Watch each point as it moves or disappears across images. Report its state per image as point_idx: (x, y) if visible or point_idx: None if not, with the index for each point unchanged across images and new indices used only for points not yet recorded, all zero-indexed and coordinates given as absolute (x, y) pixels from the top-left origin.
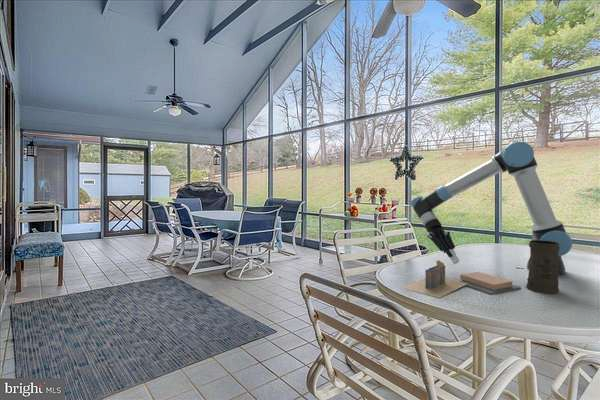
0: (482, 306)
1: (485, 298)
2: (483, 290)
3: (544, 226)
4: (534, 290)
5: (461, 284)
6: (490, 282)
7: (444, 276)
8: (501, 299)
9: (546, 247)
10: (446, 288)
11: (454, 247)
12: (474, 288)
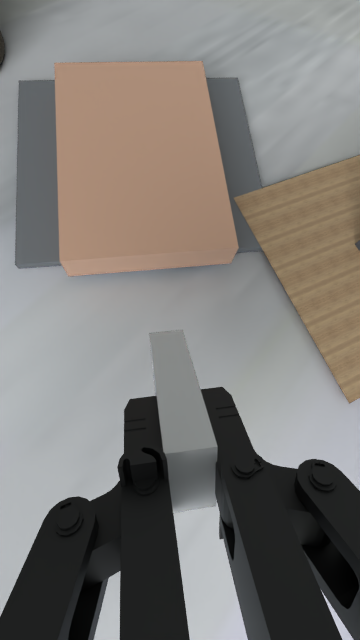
0: (355, 24)
1: (289, 64)
2: (241, 105)
3: None
4: (3, 44)
5: (283, 197)
6: (187, 86)
7: None
8: (235, 40)
9: None
10: None
11: (74, 500)
12: (251, 147)
